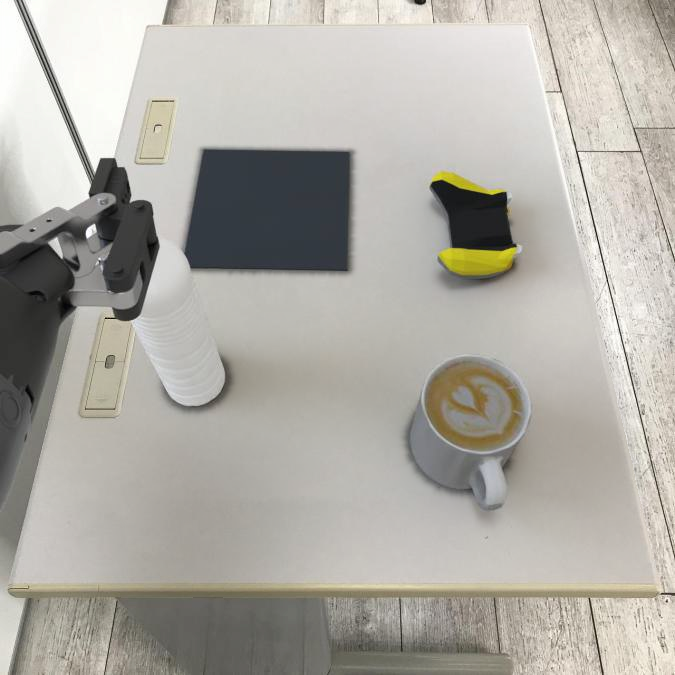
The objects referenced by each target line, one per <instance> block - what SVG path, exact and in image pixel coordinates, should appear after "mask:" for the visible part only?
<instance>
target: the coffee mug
mask: <svg viewBox="0 0 675 675" xmlns="http://www.w3.org/2000/svg"><path fill="white" fill-rule="evenodd" d="M531 419H532V400H531V396H530V393H529V391H528V388H527V386H526V385H525V383H524V381H523V380H522V378H521V377H520V376H519V375H518V374H517V373H516V372H515V370H513V369H512V368H511V367H510V366H508V365H507V364H505V363H504V362H502V361H500V360H498V359H496V358H493V357H490V356H487V355H482V354H478V353H465V354H459V355H454V356H451V357H448V358H446V359H445V360H442V361H441V362H439V363H438V364H437V365H436V366H435V367H433V368H432V370H431V371H430V372H429V373H428V375H427V376H426V378H425V380H424V382H423V385H422V388H421V391H420V395H419V399H418V403H417V406H416V411H415V414H414V418H413V421H412V424H411V429H410V436H409V438H410V439H409V443H410V449H411V453H412V456H413V458H414V461H415V462H416V464H417V465H418V467H419V469H420V470H421V471H422V472H423V473H424V474H425V475H426V476H427V477H428V478H430V479H431V480H432V481H434V482H436V483H438V484H439V485H441V486H444V487H447V488H450V489H456V490H470V489H472V492H473V494H474V498H475V500H476V502H477V504H478V506H479V507H480V509H482V510H483V511H487V512H489V511H490V512H491V511H492V512H493V511H496V510H499V509H501V508H503V506H504V505H505V503H506V500H507V499H508V498H507V497H508V496H507V495H508V488H507V487H508V486H507V482H506V476H505V473H504V471H503V467H504V465H505V464H506V462H507V461H508V460H509V458H510V457H511V455H512V453H513V452H514V450H515V449H516V447H518V445H519V444H520V442H521V440H522V438H523V437H524V436H525V434H526V432H527V430H528V428H529V426H530V423H531Z"/></svg>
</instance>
